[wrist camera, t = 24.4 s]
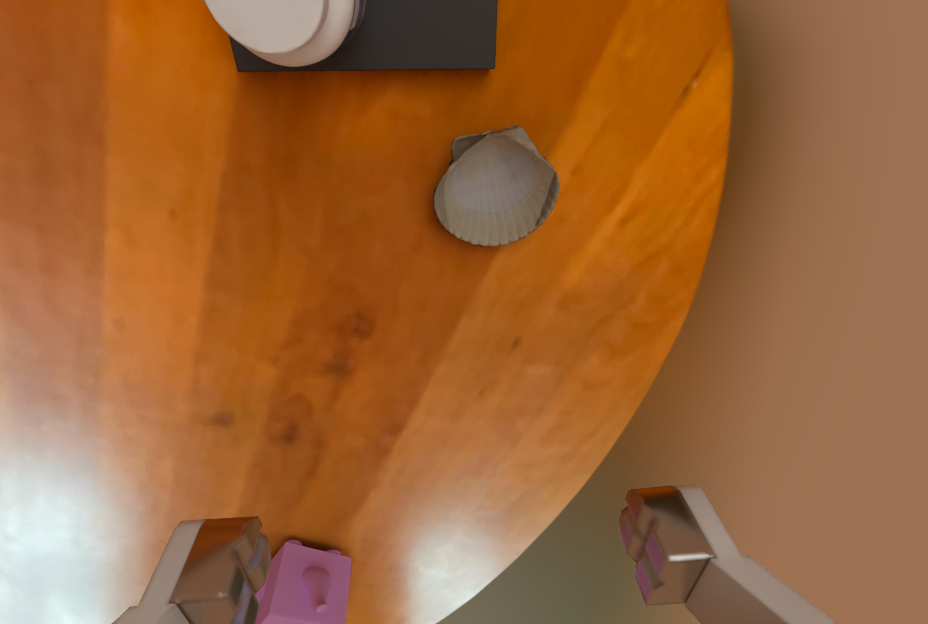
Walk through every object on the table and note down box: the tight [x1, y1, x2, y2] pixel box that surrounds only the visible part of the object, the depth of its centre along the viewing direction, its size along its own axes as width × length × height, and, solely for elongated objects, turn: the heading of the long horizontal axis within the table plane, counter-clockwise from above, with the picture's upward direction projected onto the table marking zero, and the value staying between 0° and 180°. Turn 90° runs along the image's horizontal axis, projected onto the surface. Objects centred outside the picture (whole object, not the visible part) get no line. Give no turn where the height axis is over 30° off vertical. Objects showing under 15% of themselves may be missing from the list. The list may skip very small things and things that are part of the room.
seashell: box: [433, 126, 560, 247], centre depth 30 cm, size 8×3×8 cm
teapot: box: [255, 540, 352, 624], centre depth 50 cm, size 18×13×10 cm
